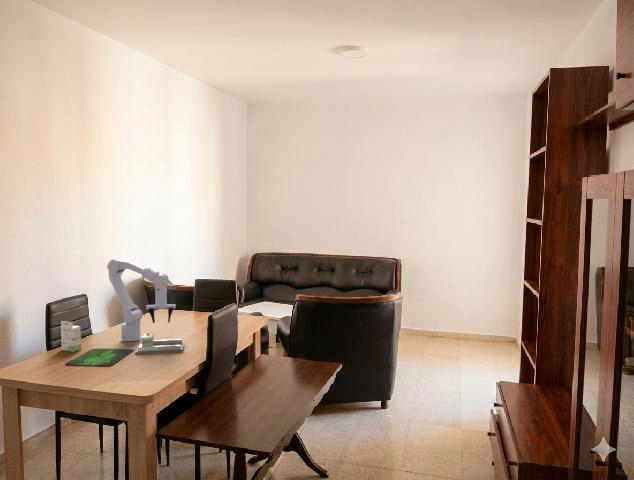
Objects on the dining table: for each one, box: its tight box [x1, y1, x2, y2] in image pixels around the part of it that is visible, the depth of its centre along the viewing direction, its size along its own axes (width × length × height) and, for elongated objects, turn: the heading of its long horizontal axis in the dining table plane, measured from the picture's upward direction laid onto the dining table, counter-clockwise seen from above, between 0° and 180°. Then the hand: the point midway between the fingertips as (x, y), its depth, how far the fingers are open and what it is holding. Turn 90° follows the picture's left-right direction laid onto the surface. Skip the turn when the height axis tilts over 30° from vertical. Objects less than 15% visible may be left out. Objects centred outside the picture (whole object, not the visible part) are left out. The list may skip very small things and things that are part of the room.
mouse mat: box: [65, 347, 135, 367], centre depth 243 cm, size 27×22×1 cm
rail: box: [137, 338, 183, 351], centre depth 256 cm, size 20×12×2 cm, turn 101°
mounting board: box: [135, 342, 185, 355], centre depth 256 cm, size 22×13×1 cm, turn 101°
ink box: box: [60, 320, 82, 353], centre depth 254 cm, size 9×5×15 cm, turn 65°
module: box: [141, 331, 154, 347], centre depth 255 cm, size 5×8×7 cm, turn 12°
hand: (161, 322), depth 271 cm, fingers open, 7 cm apart
